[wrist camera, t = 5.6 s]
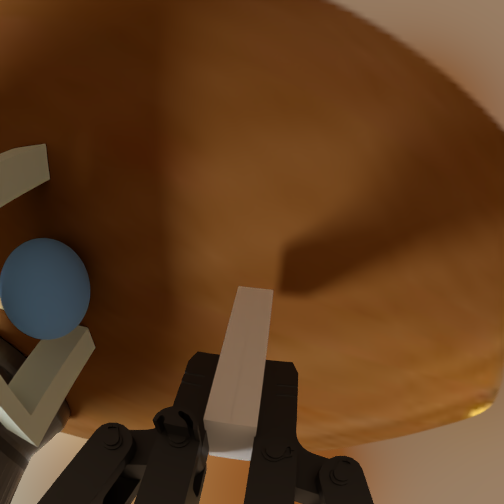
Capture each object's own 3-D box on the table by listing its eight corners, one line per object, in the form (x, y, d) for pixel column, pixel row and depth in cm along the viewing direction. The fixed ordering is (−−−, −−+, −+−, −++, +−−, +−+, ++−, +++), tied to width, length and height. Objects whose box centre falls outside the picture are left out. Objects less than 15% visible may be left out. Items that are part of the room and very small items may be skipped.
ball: (58, 290, 18) (117, 312, 17) (5, 338, 14) (61, 375, 12) (38, 216, 16) (99, 228, 14) (-29, 259, 11) (19, 286, 10)
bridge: (45, 143, 13) (-98, 216, 5) (95, 347, 20) (38, 447, 12) (12, 148, 13) (-113, 215, 5) (65, 338, 20) (6, 428, 12)
